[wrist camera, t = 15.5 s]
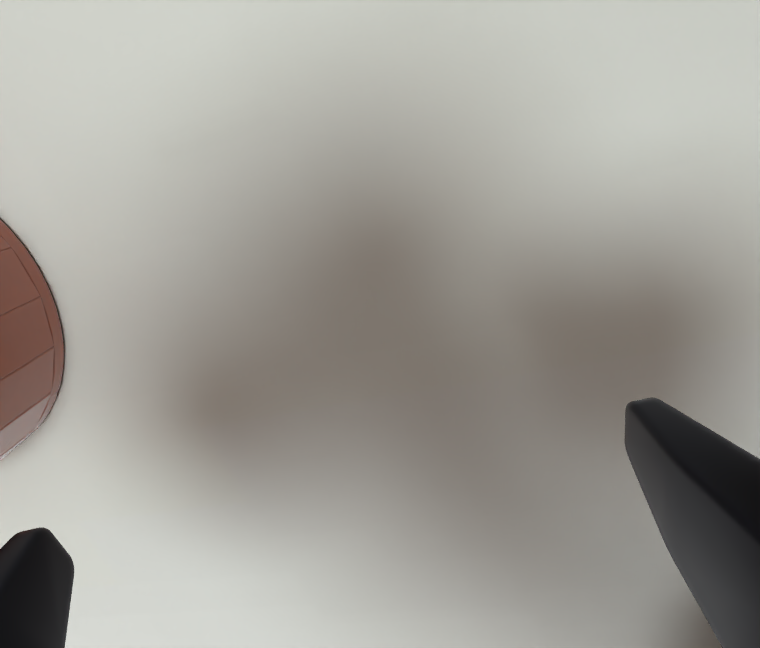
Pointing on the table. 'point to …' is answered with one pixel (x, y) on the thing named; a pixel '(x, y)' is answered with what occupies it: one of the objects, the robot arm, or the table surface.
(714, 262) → the table surface
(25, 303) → the crock
